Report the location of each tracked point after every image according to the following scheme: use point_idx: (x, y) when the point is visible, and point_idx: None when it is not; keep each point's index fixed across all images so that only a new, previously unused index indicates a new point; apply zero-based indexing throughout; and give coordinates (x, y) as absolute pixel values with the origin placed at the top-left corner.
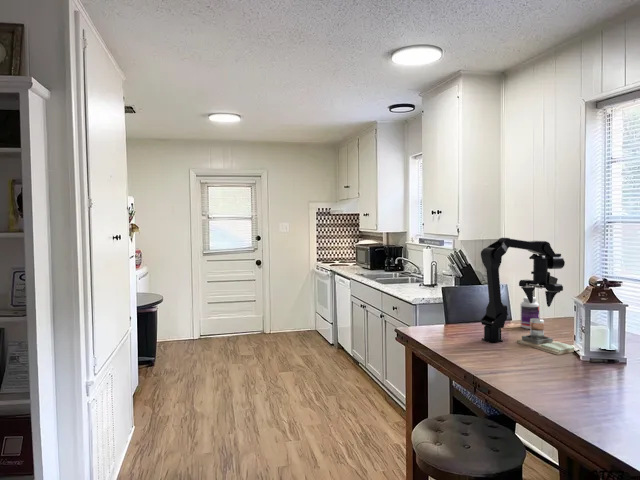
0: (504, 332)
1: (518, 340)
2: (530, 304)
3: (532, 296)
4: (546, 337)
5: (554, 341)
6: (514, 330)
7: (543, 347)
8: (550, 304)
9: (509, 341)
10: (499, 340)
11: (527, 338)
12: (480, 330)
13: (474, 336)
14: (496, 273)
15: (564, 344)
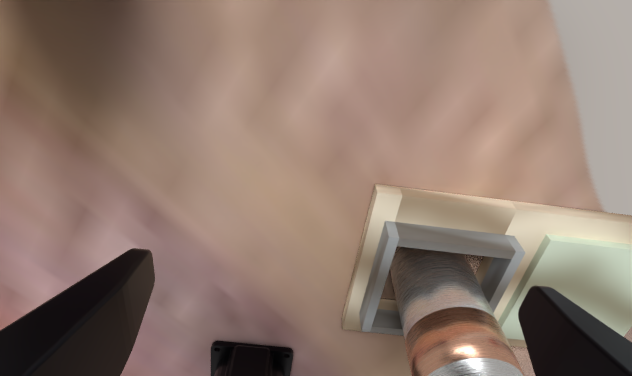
0: (128, 208)
1: (355, 330)
2: None
3: (71, 358)
4: (479, 254)
5: (516, 214)
6: (101, 105)
7: (514, 342)
8: (580, 317)
9: (307, 328)
10: (285, 368)
11: (402, 332)
12: (26, 275)
13: (143, 369)
14: None
15: (606, 260)
